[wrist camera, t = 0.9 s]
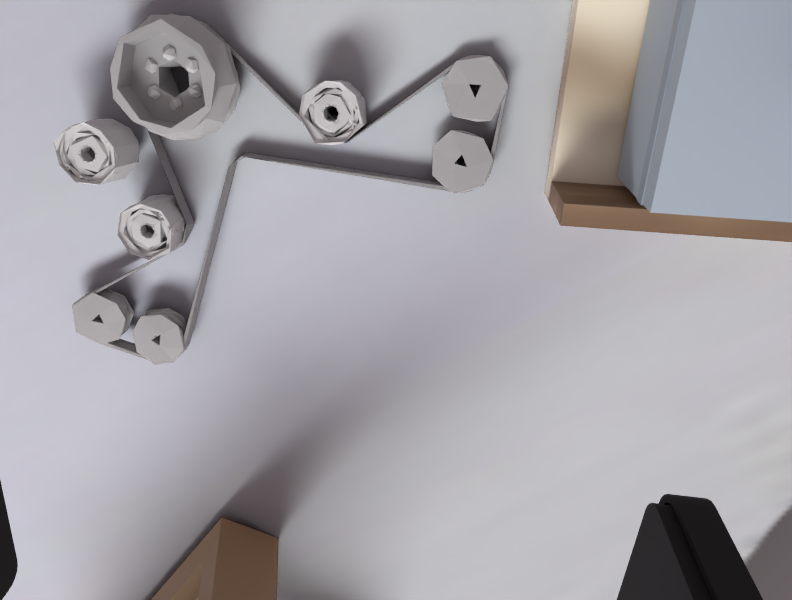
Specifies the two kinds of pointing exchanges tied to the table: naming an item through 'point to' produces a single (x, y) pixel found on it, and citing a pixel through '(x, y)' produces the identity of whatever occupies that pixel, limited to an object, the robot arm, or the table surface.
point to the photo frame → (227, 567)
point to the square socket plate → (713, 110)
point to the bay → (613, 132)
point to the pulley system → (205, 113)
